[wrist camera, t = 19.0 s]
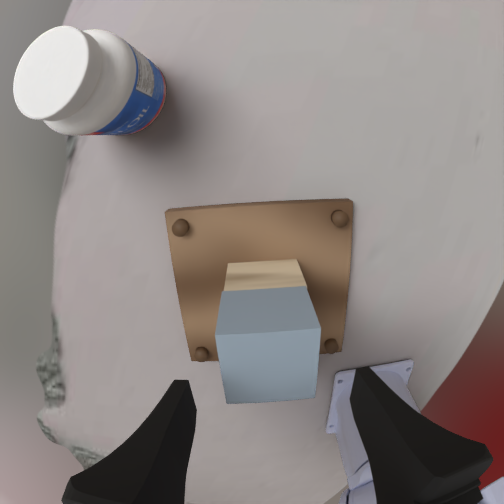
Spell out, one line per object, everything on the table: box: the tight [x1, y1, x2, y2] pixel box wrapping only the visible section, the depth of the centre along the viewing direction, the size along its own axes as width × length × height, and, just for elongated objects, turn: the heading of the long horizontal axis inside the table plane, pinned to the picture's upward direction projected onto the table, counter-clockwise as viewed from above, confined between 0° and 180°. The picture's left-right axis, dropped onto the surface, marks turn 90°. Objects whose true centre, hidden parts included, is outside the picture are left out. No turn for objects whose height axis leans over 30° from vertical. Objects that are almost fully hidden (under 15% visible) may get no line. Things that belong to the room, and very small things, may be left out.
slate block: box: [215, 286, 321, 404], centre depth 15 cm, size 4×4×4 cm
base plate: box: [165, 199, 353, 362], centre depth 21 cm, size 12×12×2 cm
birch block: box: [224, 259, 307, 291], centre depth 19 cm, size 4×4×4 cm
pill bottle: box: [13, 26, 166, 135], centre depth 12 cm, size 6×5×10 cm
